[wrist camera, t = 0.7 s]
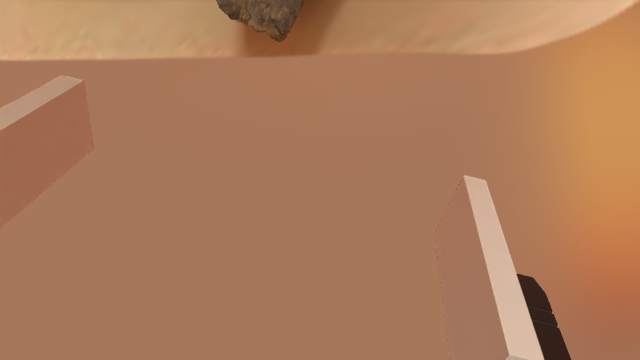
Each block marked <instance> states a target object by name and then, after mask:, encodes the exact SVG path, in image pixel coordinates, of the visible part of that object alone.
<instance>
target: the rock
mask: <svg viewBox="0 0 640 360" xmlns="http://www.w3.org/2000/svg"><path fill="white" fill-rule="evenodd" d="M216 1H217V3H218V5H219V8H220V9H221V10H222V11H223V12H224V13H225V14H226V15H228V16H229V18H230V19H231V20H236V21H238V22H241V23H244V24H245V25H251V26H252V27H253V28H254V29H255V30H256V31H257V32H263V31H264V32H267V35H269V36H270V37H271V38H272V39H275V40H276V41H278V42H281V41H283V40H284V39H285V38H286V37H287V33H288V32H289V31H290V29H291V27H292V26H293V23H294V21H295V19H296V17H297V14H298V12H299V10H300V9H301V7H302V5H303V3H304V1H305V0H216Z"/></svg>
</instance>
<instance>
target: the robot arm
mask: <svg viewBox="0 0 640 360" xmlns="http://www.w3.org/2000/svg"><path fill="white" fill-rule="evenodd" d="M93 149H94V145H93V138H92V132H91V125H90V118H89V112H88V105H87V99H86V91H85V85H84V80H81V79H77V78H72V77H68V76H64V75H61V76H59V77H57V78H55V79H53V80H51V81H50V82H48V83H46V84H44V85H42V86H41V87H39V88H37V89H35V90H33V91H31V92H30V93H28V94H26V95H24V96H22V97H20V98H18V99H17V100H15V101H13V102H11V103H9V104H7V105H6V106H4V107H2V108H0V229H1V228H2V227H3V226H4V225H5V224H6V223H8V222H9V221H10V220H11V219H12V218H14V217H15V216H16V215H17V214H18V213H19V212H20V211H22V210H23V209H24V208H25V207H26V206H28V205H29V204H30V203H31V202H32V201H33V200H35V199H36V198H37V197H38V196H39V195H40V194H42V193H43V192H44V191H45V190H46V189H47V188H49V187H50V186H51V185H52V184H53V183H54V182H56V181H57V180H58V179H59V178H60V177H62V176H63V175H64V174H65V173H66V172H67V171H69V170H70V169H71V168H72V167H73V166H74V165H76V164H77V163H78V162H79V161H80V160H81V159H83V158H84V157H85V156H86V155H87V154H89V153H90V152H91V151H92V150H93ZM434 236H435V243H436V252H437V260H438V268H439V276H440V285H441V293H442V301H443V308H444V317H445V325H446V333H447V341H448V350H449V357H450V360H571V358H570V355H569V353H568V350H567V348H566V345H565V342H564V340H563V337H562V335H561V332H560V330H559V328H557V325H558V324H557V322H556V319H555V317H554V314H552V309H551V306H550V303H549V301H548V298H547V296H546V294H545V292H544V291H543V290H542V288H541V287H540V286H539V285H538V283H537V282H536V281H535V280H534V278H532V277H528V276H524V275H520V274H516V272H515V269H514V265H513V262H512V259H511V256H510V253H509V250H508V247H507V244H506V241H505V238H504V235H503V232H502V229H501V226H500V222H499V219H498V216H497V213H496V210H495V207H494V204H493V201H492V198H491V195H490V192H489V189H488V186H487V183H486V180H483V179H479V178H475V177H471V176H467V175H463V177H462V179H461V181H460V183H459V185H458V187H457V189H456V191H455V193H454V195H453V197H452V199H451V201H450V203H449V205H448V207H447V209H446V211H445V213H444V215H443V217H442V219H441V221H440V223H439V225H438V227H437V229H436V231H435V233H434Z"/></svg>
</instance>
